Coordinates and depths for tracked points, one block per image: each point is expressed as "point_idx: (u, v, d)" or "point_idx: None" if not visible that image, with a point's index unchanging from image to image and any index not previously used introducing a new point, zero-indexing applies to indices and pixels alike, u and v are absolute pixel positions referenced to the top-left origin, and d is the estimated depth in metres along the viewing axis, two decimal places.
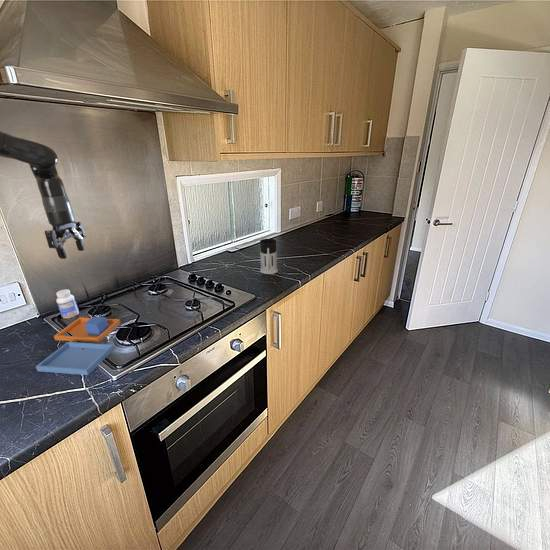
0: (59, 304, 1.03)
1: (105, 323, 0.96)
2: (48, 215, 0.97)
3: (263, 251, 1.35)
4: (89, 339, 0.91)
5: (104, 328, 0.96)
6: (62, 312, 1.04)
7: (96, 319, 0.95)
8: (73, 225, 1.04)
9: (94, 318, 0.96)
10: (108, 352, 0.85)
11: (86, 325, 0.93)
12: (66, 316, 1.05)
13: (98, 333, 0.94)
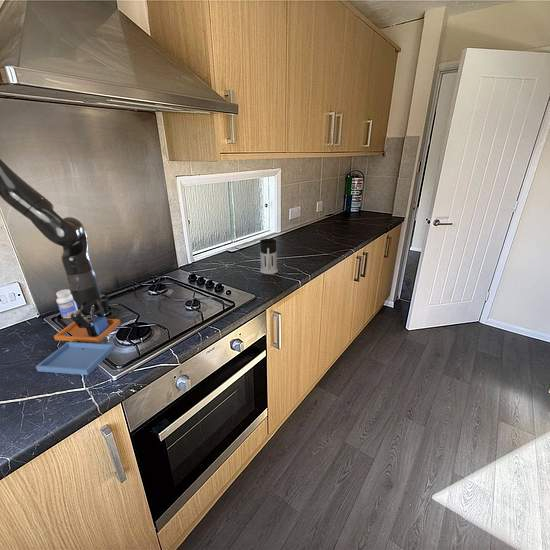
0: (59, 304, 1.03)
1: (105, 323, 0.96)
2: (73, 293, 0.87)
3: (263, 251, 1.35)
4: (89, 339, 0.91)
5: (104, 328, 0.96)
6: (62, 312, 1.04)
7: (96, 319, 0.95)
8: (99, 298, 0.95)
9: (94, 318, 0.96)
10: (108, 352, 0.85)
11: None
12: (66, 316, 1.05)
13: (98, 333, 0.94)
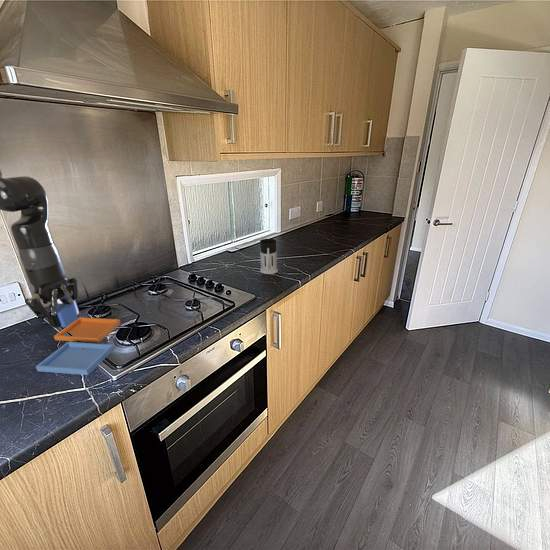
0: None
1: (73, 312, 0.79)
2: (28, 273, 0.69)
3: (263, 251, 1.35)
4: (89, 339, 0.91)
5: (71, 318, 0.78)
6: None
7: (61, 307, 0.78)
8: (64, 280, 0.77)
9: (59, 306, 0.78)
10: (108, 352, 0.85)
11: None
12: None
13: (63, 324, 0.76)
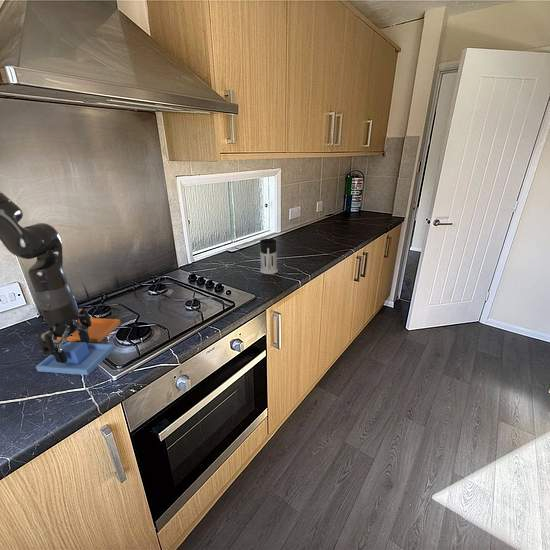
0: None
1: (85, 349, 0.83)
2: (43, 313, 0.74)
3: (263, 251, 1.35)
4: None
5: (84, 355, 0.83)
6: None
7: (74, 345, 0.82)
8: (76, 316, 0.81)
9: (72, 344, 0.83)
10: (108, 352, 0.85)
11: None
12: None
13: (76, 362, 0.81)
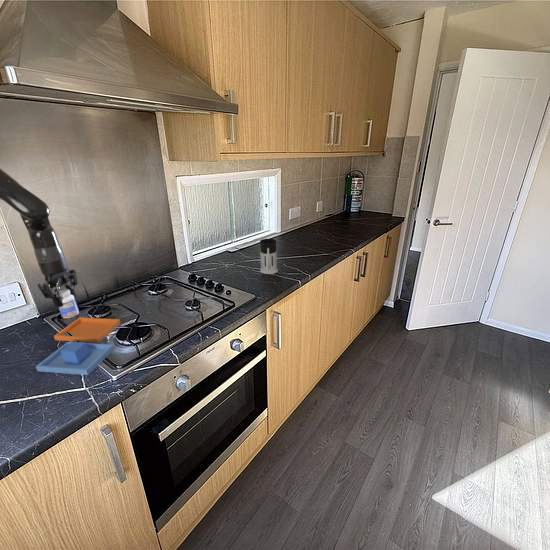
0: None
1: (85, 349, 0.83)
2: (40, 265, 0.96)
3: (263, 251, 1.35)
4: (89, 339, 0.91)
5: (84, 355, 0.83)
6: (62, 312, 1.04)
7: (74, 345, 0.82)
8: (66, 272, 1.04)
9: (72, 344, 0.83)
10: (108, 352, 0.85)
11: (62, 353, 0.80)
12: (66, 316, 1.05)
13: (76, 362, 0.81)
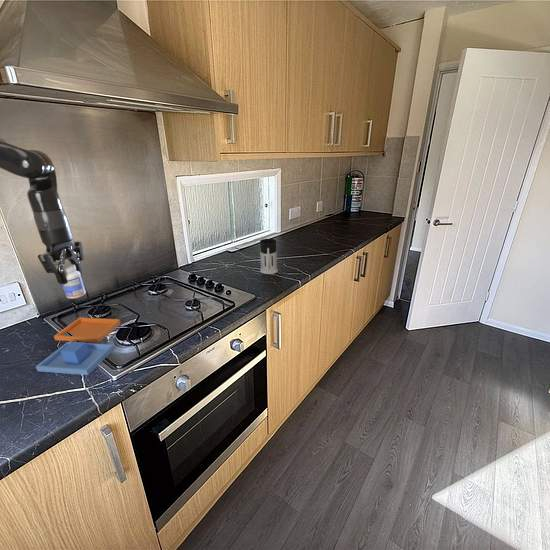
0: None
1: (85, 349, 0.83)
2: (41, 233, 0.81)
3: (263, 251, 1.35)
4: (89, 339, 0.91)
5: (84, 355, 0.83)
6: (66, 291, 0.89)
7: (74, 345, 0.82)
8: (71, 243, 0.89)
9: (72, 344, 0.83)
10: (108, 352, 0.85)
11: (62, 353, 0.80)
12: (71, 296, 0.90)
13: (76, 362, 0.81)
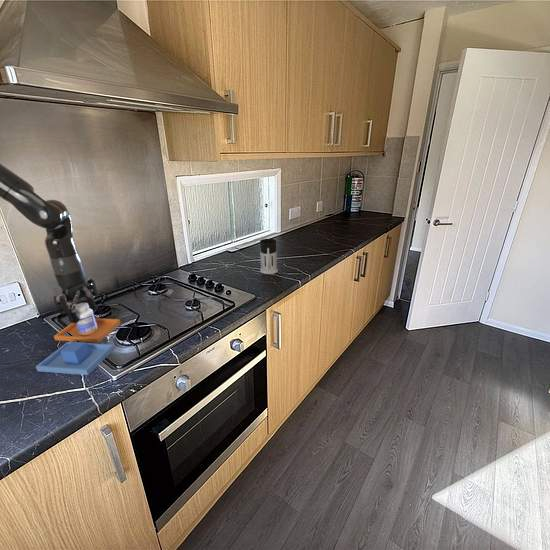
0: None
1: (85, 349, 0.83)
2: (57, 277, 0.85)
3: (263, 251, 1.35)
4: (89, 339, 0.91)
5: (84, 355, 0.83)
6: (80, 328, 0.93)
7: (74, 345, 0.82)
8: (84, 283, 0.93)
9: (72, 344, 0.83)
10: (108, 352, 0.85)
11: (62, 353, 0.80)
12: (84, 333, 0.94)
13: (76, 362, 0.81)
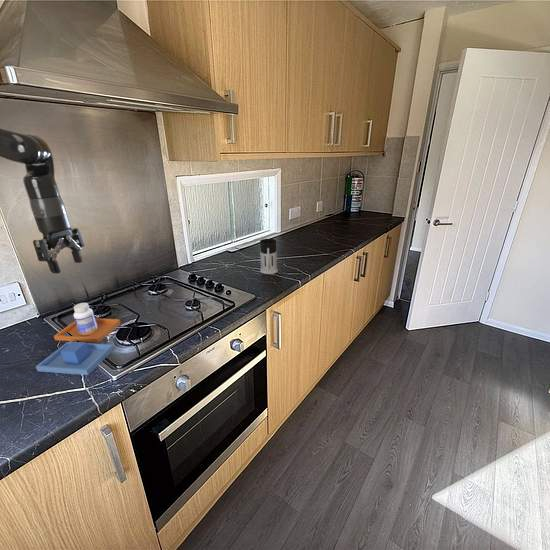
0: (77, 319, 0.92)
1: (85, 349, 0.83)
2: (37, 221, 0.79)
3: (263, 251, 1.35)
4: (89, 339, 0.91)
5: (84, 355, 0.83)
6: (80, 328, 0.93)
7: (74, 345, 0.82)
8: (68, 233, 0.86)
9: (72, 344, 0.83)
10: (108, 352, 0.85)
11: (62, 353, 0.80)
12: (84, 333, 0.94)
13: (76, 362, 0.81)
